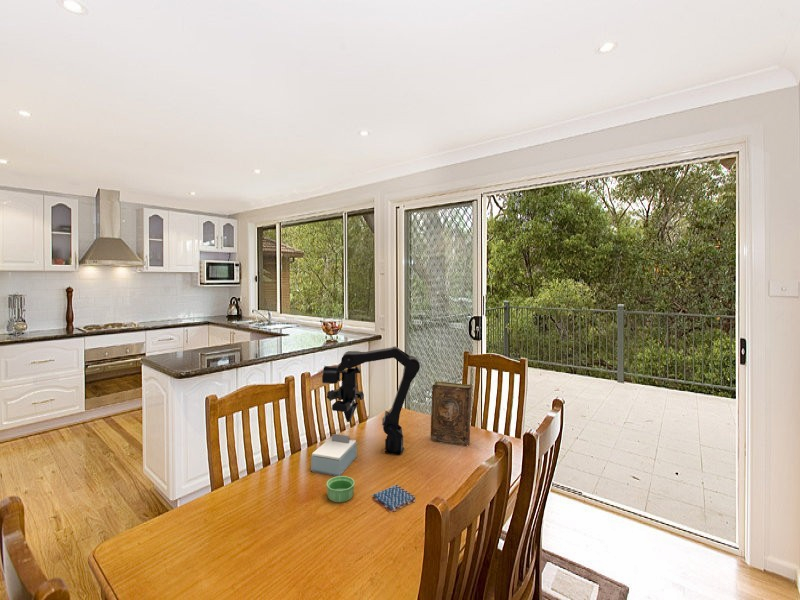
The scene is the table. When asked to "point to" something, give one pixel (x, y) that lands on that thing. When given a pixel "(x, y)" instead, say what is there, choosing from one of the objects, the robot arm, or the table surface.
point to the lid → (335, 447)
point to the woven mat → (393, 498)
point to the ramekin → (340, 488)
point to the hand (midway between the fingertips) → (348, 421)
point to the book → (451, 413)
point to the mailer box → (333, 463)
